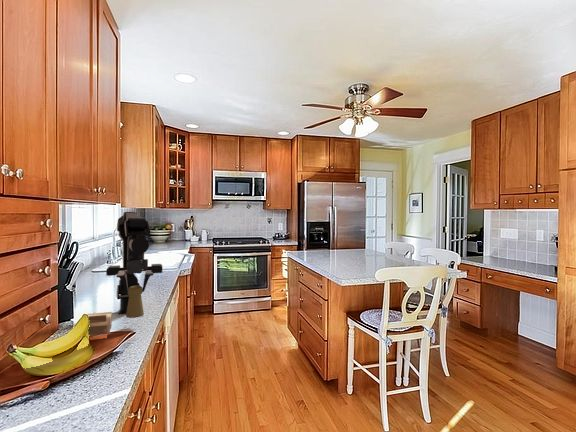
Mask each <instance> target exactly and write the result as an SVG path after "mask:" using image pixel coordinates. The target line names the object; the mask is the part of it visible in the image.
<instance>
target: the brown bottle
mask: <svg viewBox="0 0 576 432" xmlns="http://www.w3.org/2000/svg"><path fill="white" fill-rule="evenodd" d="M143 293H144V292H143V286H141V285H140V286H131V287H129V288H128V295H129V301H128V307H127V313H125V314H126V315H125V317H126V318H129V319H134V318H135V319H136V318H141V317H143V316H144V315H145V313H144V306H143V297H142V294H143Z"/></svg>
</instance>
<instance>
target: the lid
mask: <svg viewBox="0 0 576 432" xmlns="http://www.w3.org/2000/svg"><path fill="white" fill-rule="evenodd" d="M112 314H113V312H112V311H107V312H97V313H96V312H95V313H87V314H86V315H88V317H89V320H90V327H95V326H105V325H107V324H108V322H109V320H110V317H111V315H112ZM112 316H113V315H112Z"/></svg>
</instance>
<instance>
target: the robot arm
mask: <svg viewBox="0 0 576 432" xmlns="http://www.w3.org/2000/svg"><path fill="white" fill-rule="evenodd" d="M116 232H118V237H119V238H120V239H121V241H122V267H121V265H120V264H119V265H109V266H108V267H107V268H106V271H105V272H106V273H105V276H107V277H108V276H109V277H110V276H115V277H116V278H119V281H118V285H117V286H116V294H115V297H116V298H117V299H116V300H119V301H120V302H119V310H118V315H120V314H121V315H122V314H123V315H124V314H127V307H128V301H129V295H128V288H129V287H131V286H141V285H140V283H139V280H138V279H139V278H138V277H137V276H136V275H135V274H137V275H138V274H139V275H140V274H142V273H144V272H145V273H144V279H143V284H142V288H143V292H142V293H144V292H145V289H146V287H147V283H148V281H149V279H150V278H151V277H152V276H154V274H162V273H163V264H161V263H151V265H149V259H147V258H145V253H146V252H147V251H148V250H149V248H150V247H149V246H150V244H149V241H148V239H146V237H149V236H150V234H151V227H150V224H149V221H148V220H147V219H146V217H140V216H139V215H138V212H136V211H123V214H122V216H120V217H119V218H118V219H117V223H116Z"/></svg>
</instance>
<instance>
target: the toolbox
mask: <svg viewBox="0 0 576 432" xmlns="http://www.w3.org/2000/svg"><path fill="white" fill-rule="evenodd" d="M112 317H113V315H111V317H110V320H109V322H108V324H107V325H105V326H95V327H89V335H90V337H91V336H95V335H100V334H106V333H109V334H110V332H111V329H112V325H113V324H112V323H113V322H112V321H113V320H112Z"/></svg>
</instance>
